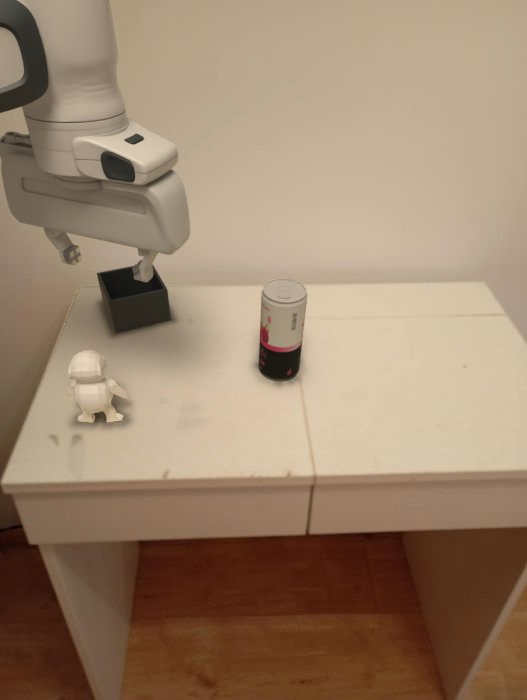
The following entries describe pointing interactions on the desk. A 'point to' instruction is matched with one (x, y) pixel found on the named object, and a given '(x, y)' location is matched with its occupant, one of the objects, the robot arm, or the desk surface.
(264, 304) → the beverage can
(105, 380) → the figurine
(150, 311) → the dark grey hollow box
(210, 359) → the desk surface
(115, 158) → the robot arm
